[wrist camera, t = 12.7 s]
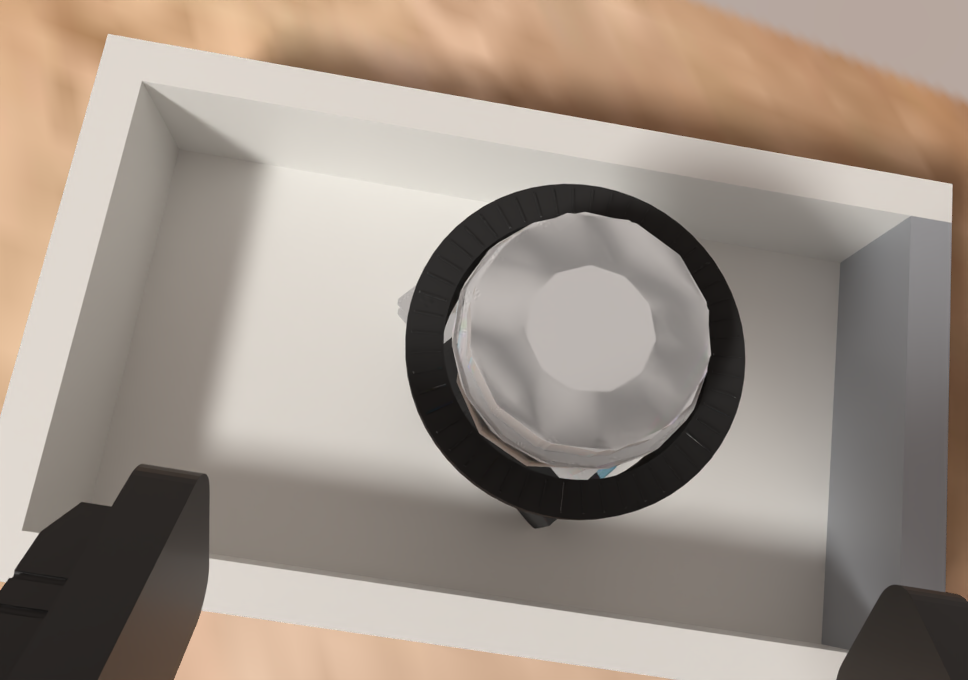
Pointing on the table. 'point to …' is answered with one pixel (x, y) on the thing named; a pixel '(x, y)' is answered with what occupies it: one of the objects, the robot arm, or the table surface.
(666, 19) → the table surface
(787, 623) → the tray
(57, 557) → the robot arm
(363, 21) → the table surface
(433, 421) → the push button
